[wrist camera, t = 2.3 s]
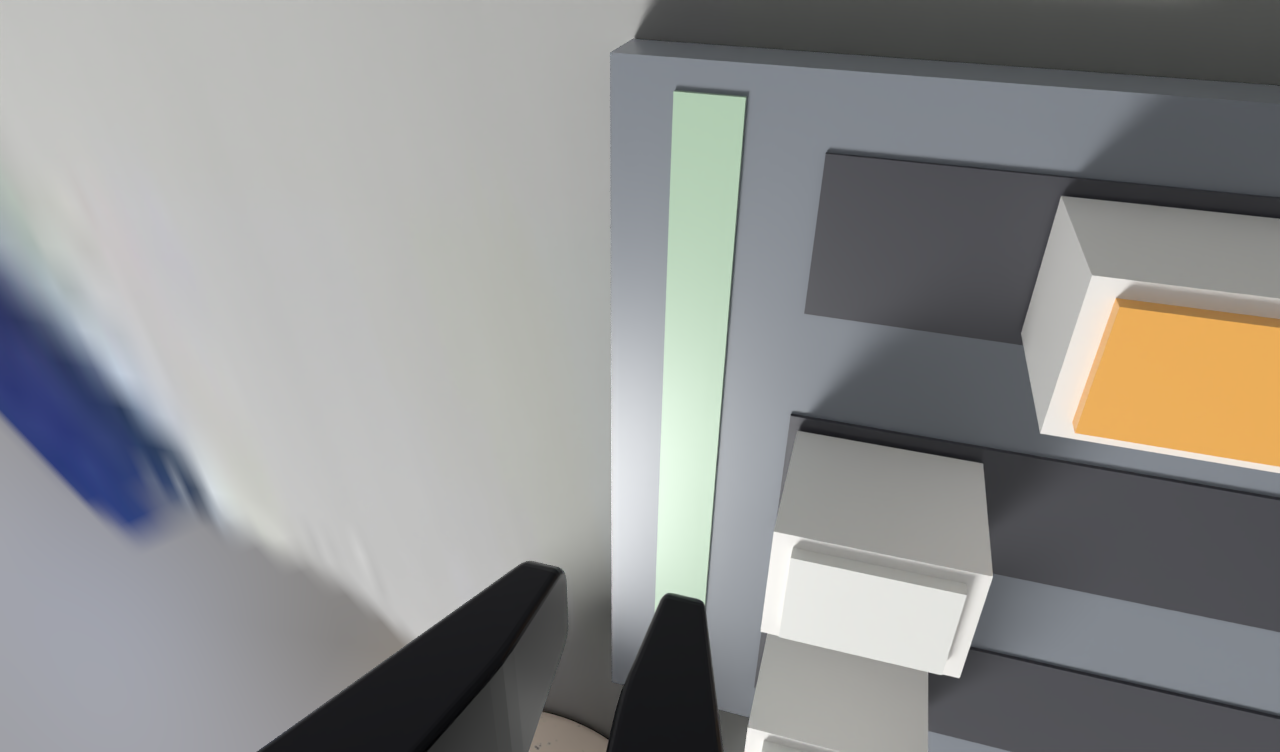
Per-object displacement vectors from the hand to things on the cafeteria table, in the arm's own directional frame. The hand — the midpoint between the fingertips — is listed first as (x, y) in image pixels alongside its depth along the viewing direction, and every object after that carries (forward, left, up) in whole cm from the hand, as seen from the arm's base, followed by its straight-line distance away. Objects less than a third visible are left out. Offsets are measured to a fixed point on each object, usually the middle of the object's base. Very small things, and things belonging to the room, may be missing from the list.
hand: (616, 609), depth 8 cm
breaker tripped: (-7, 0, -10) cm, 12 cm away
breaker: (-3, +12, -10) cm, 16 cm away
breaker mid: (-3, +6, -10) cm, 12 cm away
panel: (-7, +6, -12) cm, 15 cm away
